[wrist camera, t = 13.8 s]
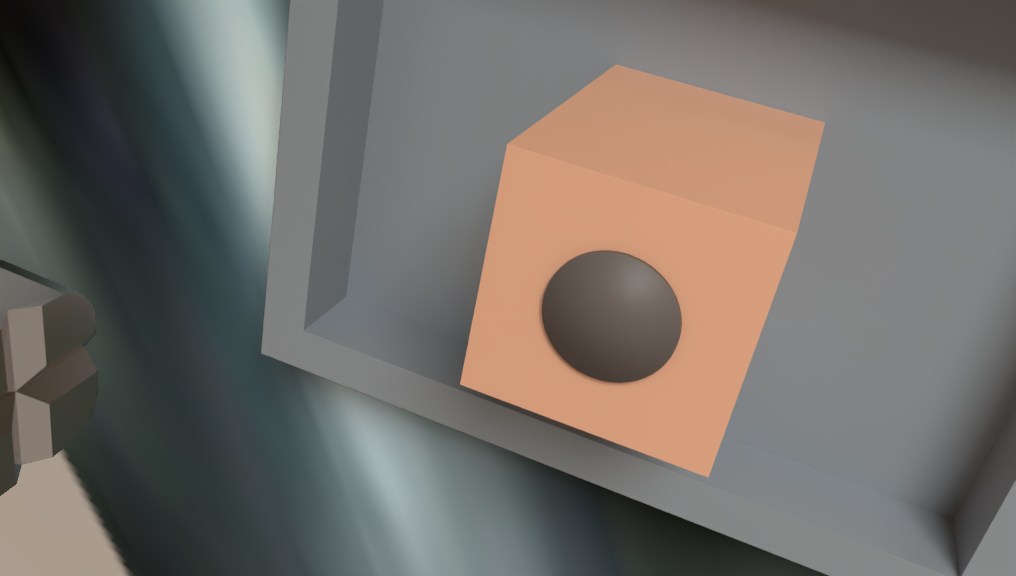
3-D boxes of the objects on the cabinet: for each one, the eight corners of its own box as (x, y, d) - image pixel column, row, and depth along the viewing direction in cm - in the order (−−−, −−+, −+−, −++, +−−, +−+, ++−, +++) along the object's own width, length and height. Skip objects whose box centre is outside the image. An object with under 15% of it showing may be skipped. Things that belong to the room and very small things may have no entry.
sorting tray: (378, -230, 18) (309, -243, 16) (1310, -22, 15) (1382, -3, 12) (318, 308, 24) (261, 353, 22) (981, 556, 20) (992, 639, 18)
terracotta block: (616, 64, 18) (505, 145, 13) (825, 122, 17) (797, 235, 12) (571, 250, 20) (457, 387, 15) (758, 311, 19) (707, 481, 14)
